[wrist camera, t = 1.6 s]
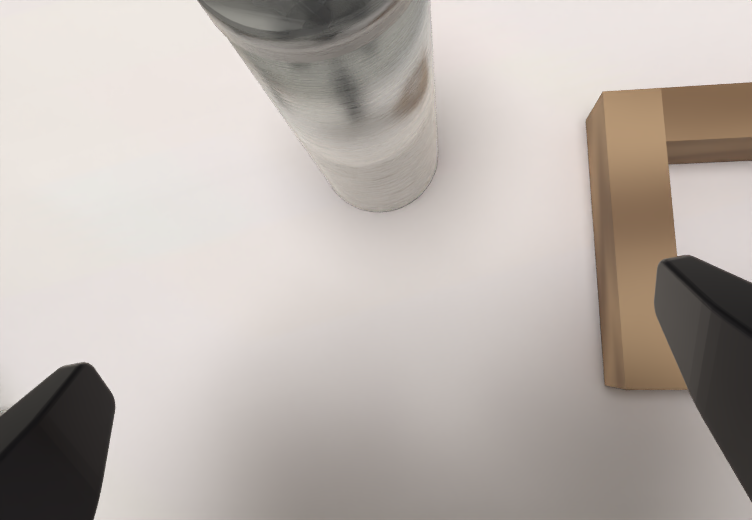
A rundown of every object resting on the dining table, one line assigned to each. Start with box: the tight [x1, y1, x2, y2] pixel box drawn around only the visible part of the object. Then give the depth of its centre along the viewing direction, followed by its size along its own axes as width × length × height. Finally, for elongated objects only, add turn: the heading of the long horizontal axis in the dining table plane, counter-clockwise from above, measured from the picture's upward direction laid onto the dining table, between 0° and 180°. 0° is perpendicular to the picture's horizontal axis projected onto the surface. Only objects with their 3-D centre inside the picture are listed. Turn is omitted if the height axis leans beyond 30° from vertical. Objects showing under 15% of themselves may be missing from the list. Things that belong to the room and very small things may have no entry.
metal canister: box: [197, 0, 438, 212], centre depth 17 cm, size 5×5×13 cm
